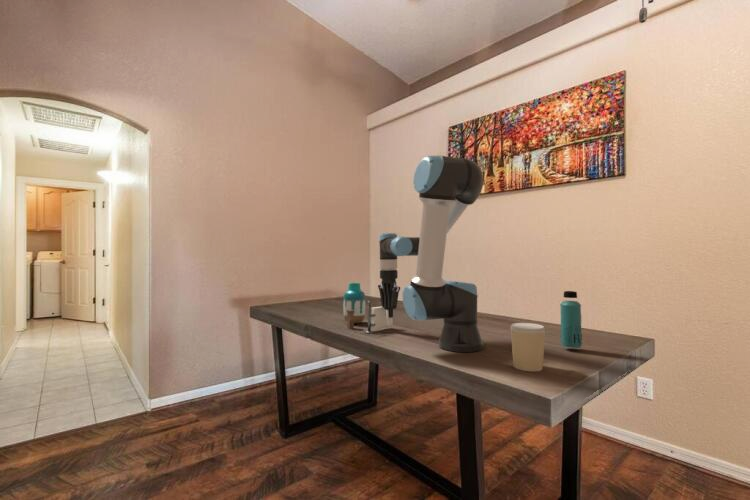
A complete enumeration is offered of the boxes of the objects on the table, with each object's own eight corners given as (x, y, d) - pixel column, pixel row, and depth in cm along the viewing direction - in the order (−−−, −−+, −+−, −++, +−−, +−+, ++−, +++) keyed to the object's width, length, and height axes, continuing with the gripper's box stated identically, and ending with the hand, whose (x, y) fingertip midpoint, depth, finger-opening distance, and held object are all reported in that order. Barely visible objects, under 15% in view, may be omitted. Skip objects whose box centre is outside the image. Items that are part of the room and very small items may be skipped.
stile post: (354, 328, 160) (354, 310, 160) (349, 329, 159) (349, 310, 159) (351, 327, 162) (351, 309, 162) (346, 328, 161) (346, 309, 161)
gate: (372, 330, 152) (372, 308, 152) (369, 329, 153) (369, 308, 153) (392, 326, 160) (391, 305, 160) (389, 325, 161) (389, 305, 162)
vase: (339, 324, 169) (339, 283, 170) (349, 320, 179) (349, 281, 179) (360, 326, 165) (359, 284, 166) (369, 322, 175) (368, 282, 175)
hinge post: (375, 332, 151) (375, 301, 151) (367, 333, 149) (367, 301, 149) (370, 331, 154) (370, 300, 154) (363, 332, 152) (363, 300, 152)
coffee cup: (534, 361, 110) (533, 322, 110) (552, 371, 101) (552, 328, 101) (504, 363, 109) (504, 323, 109) (521, 373, 99) (520, 329, 100)
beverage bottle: (574, 353, 119) (573, 292, 119) (555, 348, 125) (555, 290, 125) (586, 351, 122) (585, 291, 122) (568, 346, 128) (567, 289, 128)
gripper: (405, 269, 151) (405, 326, 151) (386, 268, 161) (387, 321, 161) (390, 270, 147) (391, 328, 147) (372, 269, 157) (373, 323, 157)
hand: (389, 324), depth 154 cm, fingers closed
